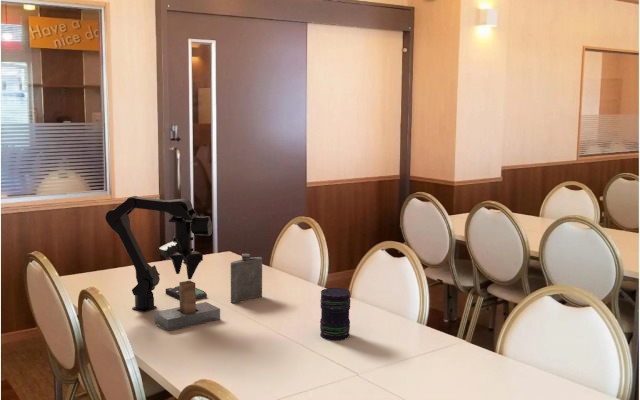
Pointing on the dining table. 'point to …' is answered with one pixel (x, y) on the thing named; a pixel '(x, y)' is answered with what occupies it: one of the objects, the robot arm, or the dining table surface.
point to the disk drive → (176, 293)
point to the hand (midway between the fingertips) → (183, 276)
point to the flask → (246, 279)
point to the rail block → (187, 317)
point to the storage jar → (335, 314)
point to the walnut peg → (187, 297)
